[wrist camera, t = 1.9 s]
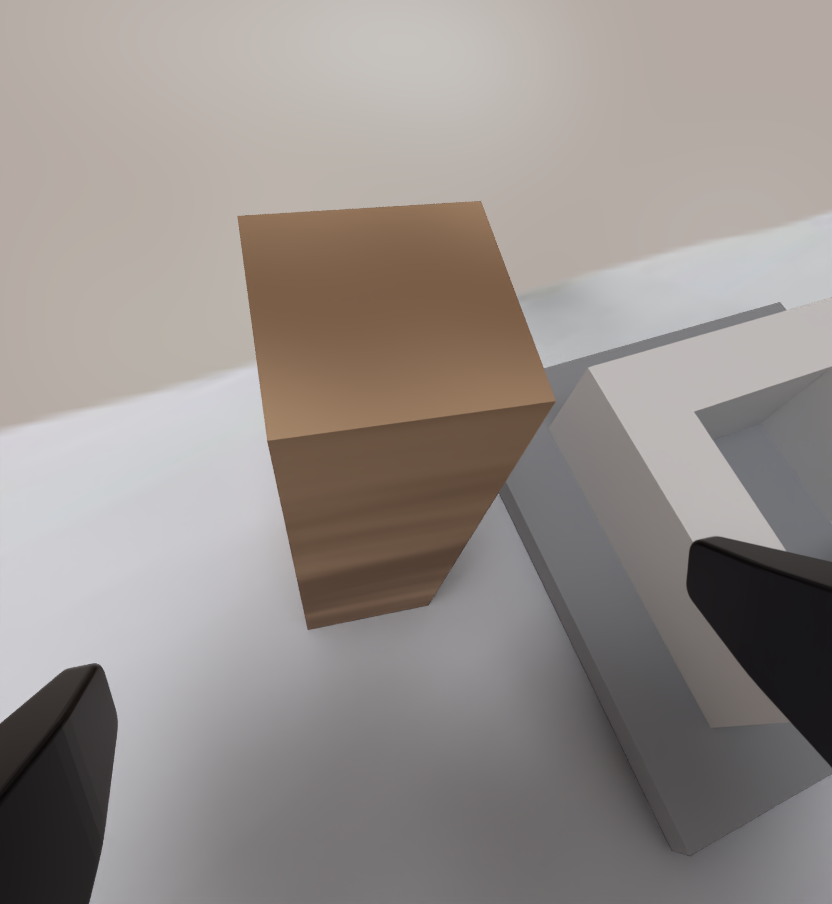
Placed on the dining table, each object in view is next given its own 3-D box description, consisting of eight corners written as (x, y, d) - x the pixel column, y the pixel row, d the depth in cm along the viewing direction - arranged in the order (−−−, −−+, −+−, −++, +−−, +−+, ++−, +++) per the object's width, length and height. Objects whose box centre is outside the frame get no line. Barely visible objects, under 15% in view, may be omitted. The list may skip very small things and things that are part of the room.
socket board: (1024, 649, 22) (1200, 623, 17) (672, 850, 18) (785, 883, 13) (765, 316, 28) (846, 233, 23) (456, 405, 24) (485, 324, 19)
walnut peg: (428, 605, 20) (555, 400, 8) (307, 629, 19) (267, 441, 8) (403, 495, 22) (480, 200, 10) (291, 514, 21) (237, 215, 9)
